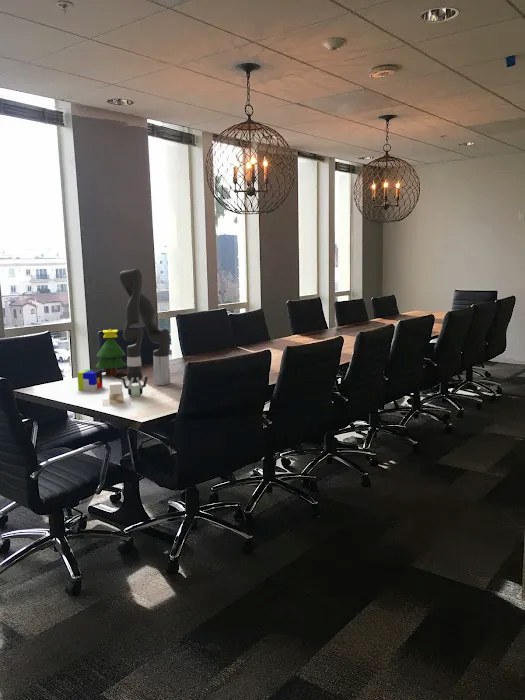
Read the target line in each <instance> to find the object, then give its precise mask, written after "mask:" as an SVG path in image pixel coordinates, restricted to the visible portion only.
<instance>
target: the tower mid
mask: <svg viewBox="0 0 525 700" xmlns="http://www.w3.org/2000/svg"><path fill="white" fill-rule="evenodd" d="M122 391H123V382H122V381H112V382H109V392H110V394H122Z"/></svg>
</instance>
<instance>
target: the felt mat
mask: <svg viewBox="0 0 525 700" xmlns="http://www.w3.org/2000/svg"><path fill="white" fill-rule="evenodd" d="M123 398H124V403H119V404H110V402H109V398H108V399H102V407H111V406H112V407H114V406H116V407H117V406H126V405H127V406H128V405H132V403H131V399H130V397H123Z"/></svg>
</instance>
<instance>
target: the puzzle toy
mask: <svg viewBox="0 0 525 700" xmlns="http://www.w3.org/2000/svg"><path fill="white" fill-rule="evenodd" d="M103 387H104V386H103V370H102V369H84V370H81V371H79V372H77V389H78V391H90V392H91V391H93V392H95V391H96V390H99V389H101V388H103Z"/></svg>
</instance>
